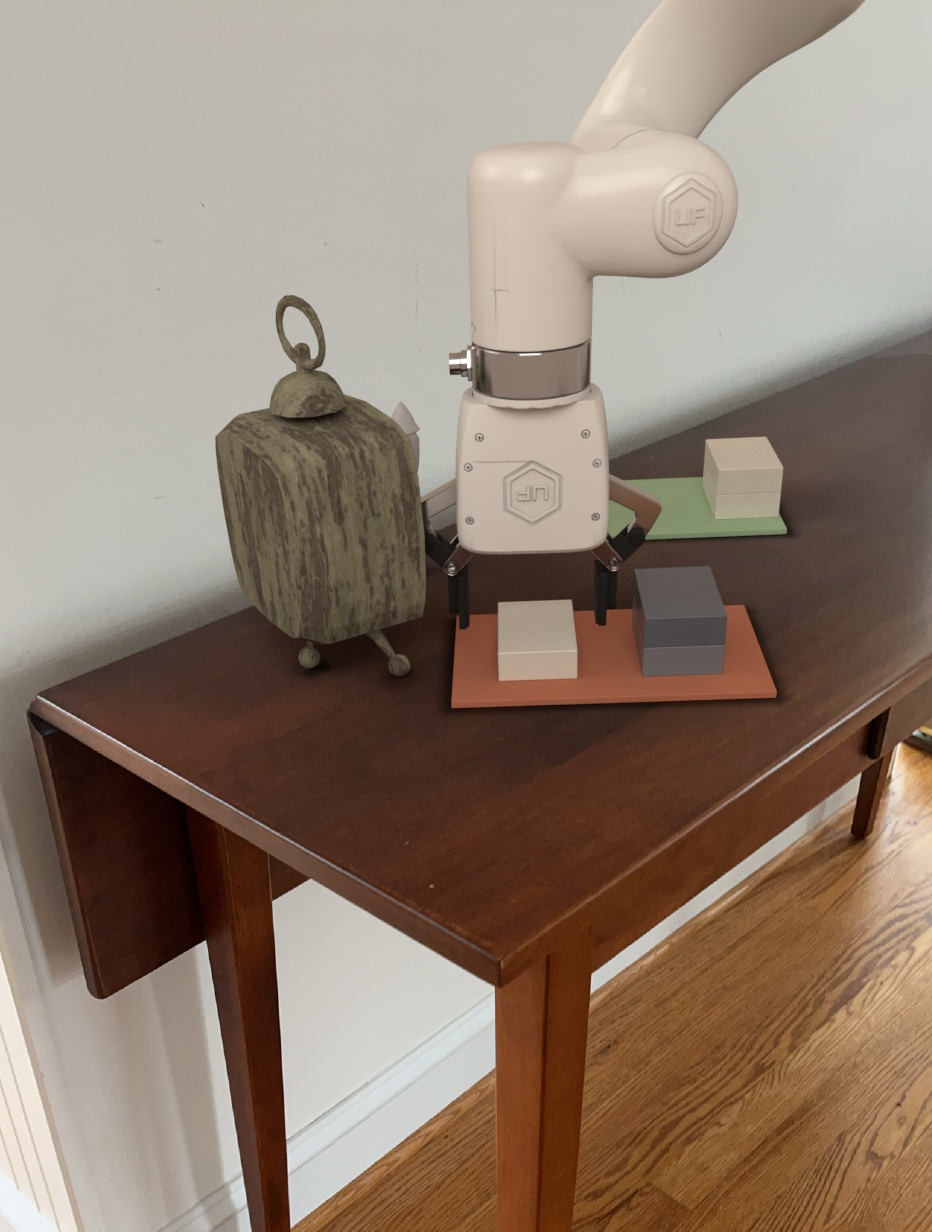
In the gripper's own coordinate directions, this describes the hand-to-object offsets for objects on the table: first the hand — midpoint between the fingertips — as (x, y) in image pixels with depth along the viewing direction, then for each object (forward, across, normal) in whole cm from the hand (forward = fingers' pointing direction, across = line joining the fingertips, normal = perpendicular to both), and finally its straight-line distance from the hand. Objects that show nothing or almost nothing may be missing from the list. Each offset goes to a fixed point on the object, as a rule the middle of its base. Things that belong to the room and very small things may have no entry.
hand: (532, 619), depth 89 cm
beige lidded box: (+2, +19, +29) cm, 35 cm away
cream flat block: (+3, 0, 0) cm, 3 cm away
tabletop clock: (+4, -15, +1) cm, 15 cm away
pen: (+3, -10, +17) cm, 20 cm away
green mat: (+3, +13, +29) cm, 32 cm away
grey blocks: (+3, +10, 0) cm, 11 cm away
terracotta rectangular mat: (+3, +5, 0) cm, 6 cm away
